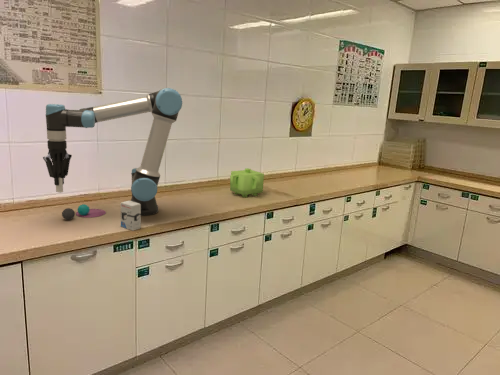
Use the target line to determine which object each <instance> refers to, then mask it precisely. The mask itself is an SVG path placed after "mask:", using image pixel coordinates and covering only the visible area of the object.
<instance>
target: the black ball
mask: <svg viewBox="0 0 500 375" xmlns="http://www.w3.org/2000/svg"><path fill="white" fill-rule="evenodd" d="M75 215H76V212H75V211H74V209H73V208H70V207H67V208H65V209H63V210H62V212H61V216H62V218H63V219H64V220H66V221H70V220H73V219H74V218H75V217H76V216H75Z"/></svg>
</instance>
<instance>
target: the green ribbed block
mask: <svg viewBox="0 0 500 375" xmlns="http://www.w3.org/2000/svg"><path fill="white" fill-rule="evenodd" d="M264 178H265V174H264V173H263V172H261V171H260V172H259V171H256V170H253V169H251V168H244V170H231V172H230V175H229V179H230V182H229V186H230V187H229V188H230V189H229V191H231V192H234V194H235V195H241V196H242V198H248V196H249V195H252V196H253V197H259V195H258V194H262V193H263V192H264V181H265V179H264Z"/></svg>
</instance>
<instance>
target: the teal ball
mask: <svg viewBox="0 0 500 375" xmlns="http://www.w3.org/2000/svg"><path fill="white" fill-rule="evenodd" d="M90 209H91V208H90V206H88V204H86V203H85V204H80V205H79V206H78V207H77V210H76V212H78V213H79V214H80V215H83V216H84V215H87V214H88V213H89V211H90Z"/></svg>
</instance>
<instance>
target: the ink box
mask: <svg viewBox="0 0 500 375" xmlns="http://www.w3.org/2000/svg"><path fill="white" fill-rule="evenodd" d="M141 216H142V215H141V204H139V203H136V202H133V201H131V200H127V201H125V200H124V201H122V202H120V227H121V228H124V229H126V230H127V229H128V230H130V231H135V230H139V229H141V228H142V227H141V226H142V219H141V218H142V217H141Z"/></svg>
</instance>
